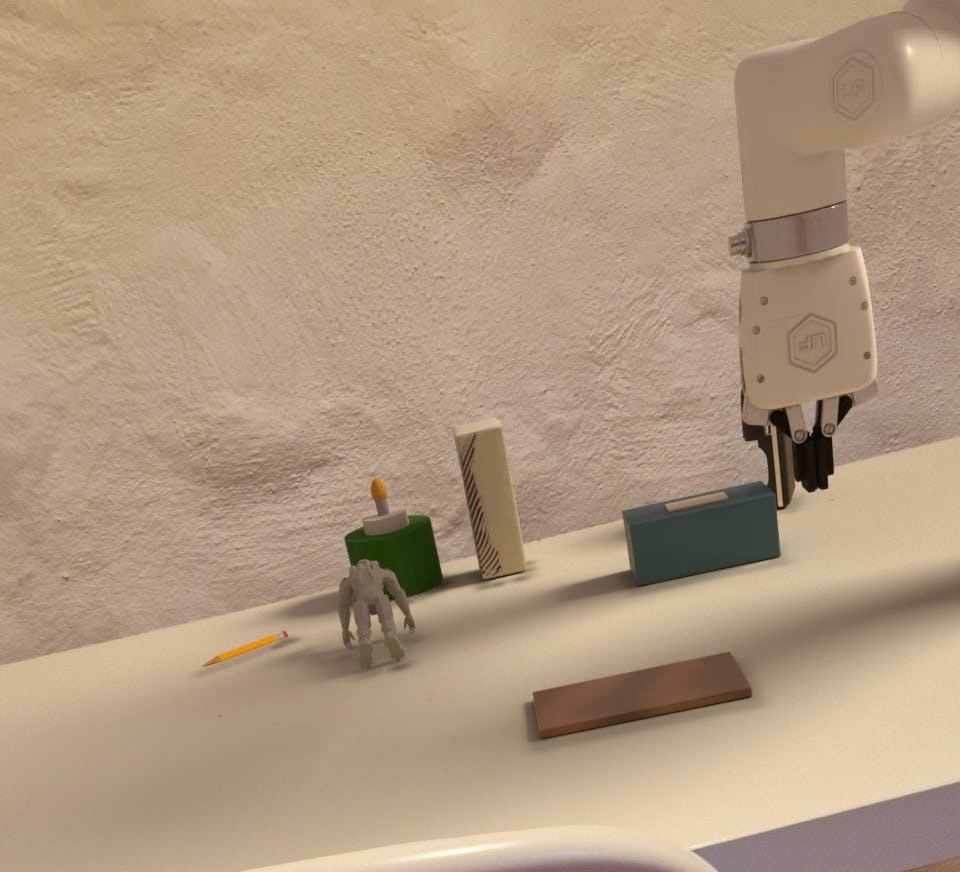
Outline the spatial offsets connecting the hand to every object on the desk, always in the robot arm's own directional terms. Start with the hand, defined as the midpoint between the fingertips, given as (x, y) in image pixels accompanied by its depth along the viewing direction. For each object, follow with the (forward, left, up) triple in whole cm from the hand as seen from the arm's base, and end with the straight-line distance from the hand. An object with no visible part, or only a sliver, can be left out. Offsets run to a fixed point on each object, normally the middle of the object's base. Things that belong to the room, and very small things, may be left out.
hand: (814, 487), depth 116 cm
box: (+27, -12, -4) cm, 30 cm away
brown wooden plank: (+19, +30, -4) cm, 36 cm away
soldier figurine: (+38, +5, -4) cm, 38 cm away
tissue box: (+10, 0, -4) cm, 11 cm away
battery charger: (+1, -16, -4) cm, 17 cm away
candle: (+37, -14, -4) cm, 40 cm away
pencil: (+51, -3, -5) cm, 51 cm away
